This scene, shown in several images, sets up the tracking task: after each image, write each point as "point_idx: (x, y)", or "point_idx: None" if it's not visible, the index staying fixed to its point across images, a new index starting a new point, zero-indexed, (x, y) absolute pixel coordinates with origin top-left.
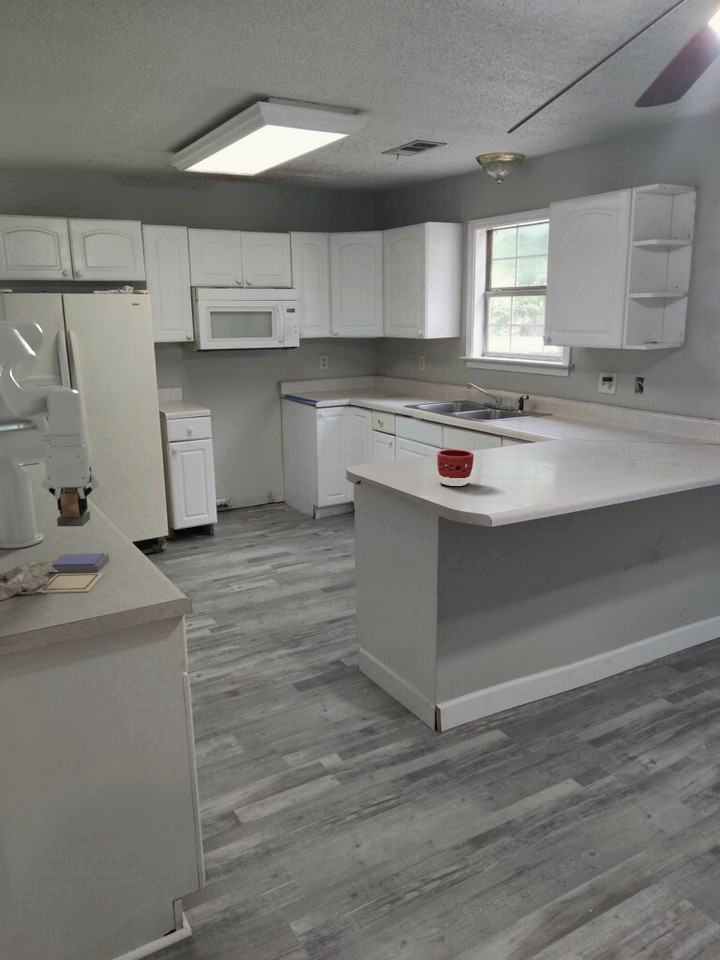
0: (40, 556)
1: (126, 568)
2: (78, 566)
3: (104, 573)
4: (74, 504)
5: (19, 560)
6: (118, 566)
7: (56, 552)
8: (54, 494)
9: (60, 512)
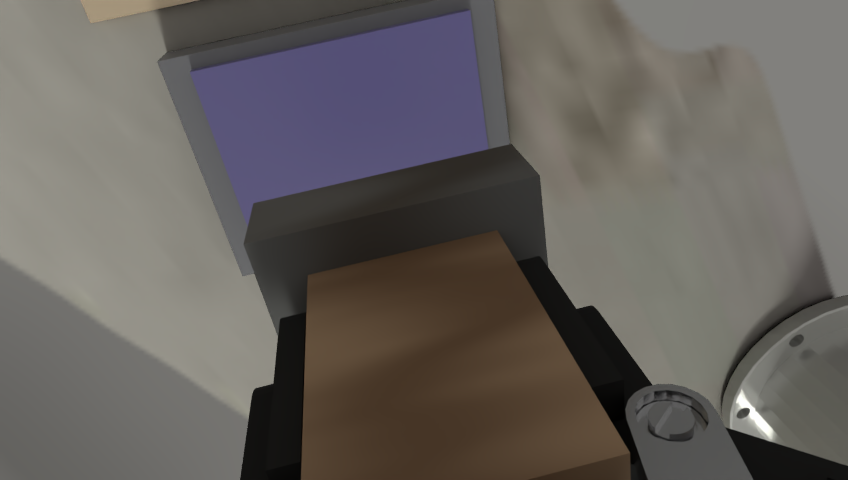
0: (651, 239)
1: (23, 145)
2: (290, 31)
3: (89, 16)
4: (356, 369)
5: (735, 166)
6: (108, 170)
7: (596, 303)
8: (743, 450)
9: (540, 266)
